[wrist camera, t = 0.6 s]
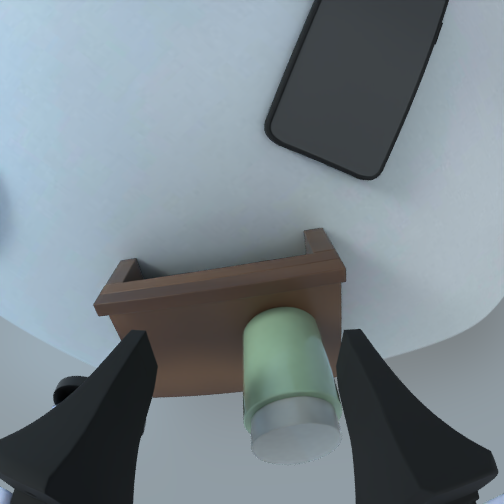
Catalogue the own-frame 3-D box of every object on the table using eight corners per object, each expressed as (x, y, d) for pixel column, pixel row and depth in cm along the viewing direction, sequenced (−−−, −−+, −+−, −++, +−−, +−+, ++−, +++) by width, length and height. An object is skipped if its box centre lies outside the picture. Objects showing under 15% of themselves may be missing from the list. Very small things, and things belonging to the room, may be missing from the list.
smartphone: (257, 138, 16) (349, -78, 10) (256, 136, 17) (345, -72, 10) (377, 188, 17) (455, -15, 11) (371, 183, 18) (448, -12, 12)
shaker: (266, 372, 19) (275, 474, 13) (227, 328, 18) (222, 441, 11) (331, 343, 18) (361, 446, 12) (298, 292, 17) (327, 405, 10)
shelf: (328, 337, 23) (343, 387, 19) (161, 359, 24) (150, 408, 20) (323, 227, 19) (346, 267, 15) (120, 260, 20) (92, 304, 16)
